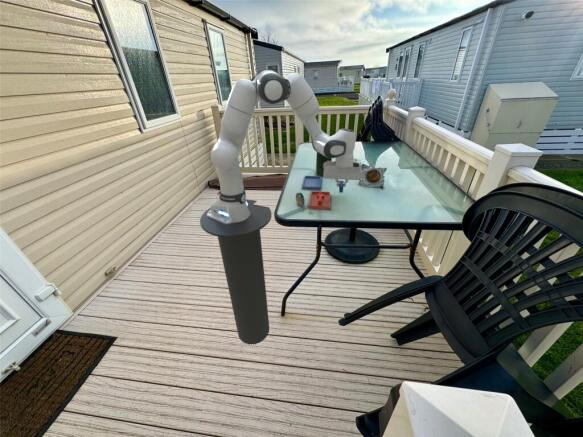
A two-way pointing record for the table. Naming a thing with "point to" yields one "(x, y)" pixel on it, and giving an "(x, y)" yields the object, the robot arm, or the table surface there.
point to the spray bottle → (321, 163)
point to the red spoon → (320, 198)
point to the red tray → (314, 200)
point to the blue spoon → (341, 186)
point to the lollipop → (300, 199)
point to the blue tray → (312, 182)
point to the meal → (372, 176)
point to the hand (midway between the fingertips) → (341, 186)
